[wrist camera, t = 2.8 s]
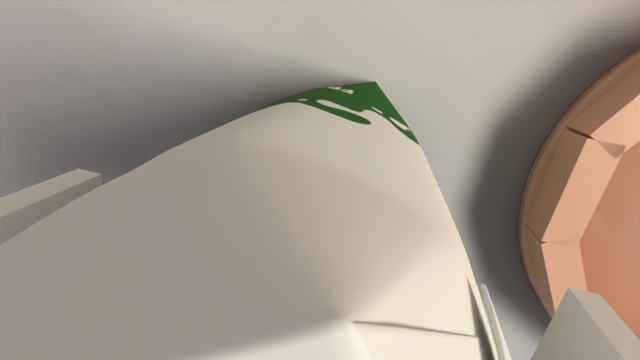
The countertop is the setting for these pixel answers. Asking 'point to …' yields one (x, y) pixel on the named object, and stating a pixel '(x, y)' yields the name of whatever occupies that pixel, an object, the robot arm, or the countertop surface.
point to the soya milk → (256, 250)
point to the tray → (589, 199)
